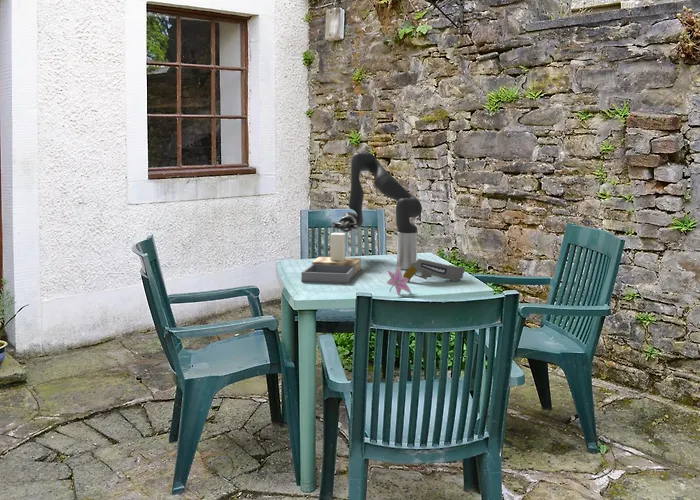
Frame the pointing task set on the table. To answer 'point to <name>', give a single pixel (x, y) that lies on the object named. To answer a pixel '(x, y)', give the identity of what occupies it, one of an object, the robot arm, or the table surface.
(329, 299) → the table surface
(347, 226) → the robot arm
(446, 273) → the gun
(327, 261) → the tan flat block
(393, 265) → the table surface
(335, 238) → the cream block
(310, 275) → the box
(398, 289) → the lily
